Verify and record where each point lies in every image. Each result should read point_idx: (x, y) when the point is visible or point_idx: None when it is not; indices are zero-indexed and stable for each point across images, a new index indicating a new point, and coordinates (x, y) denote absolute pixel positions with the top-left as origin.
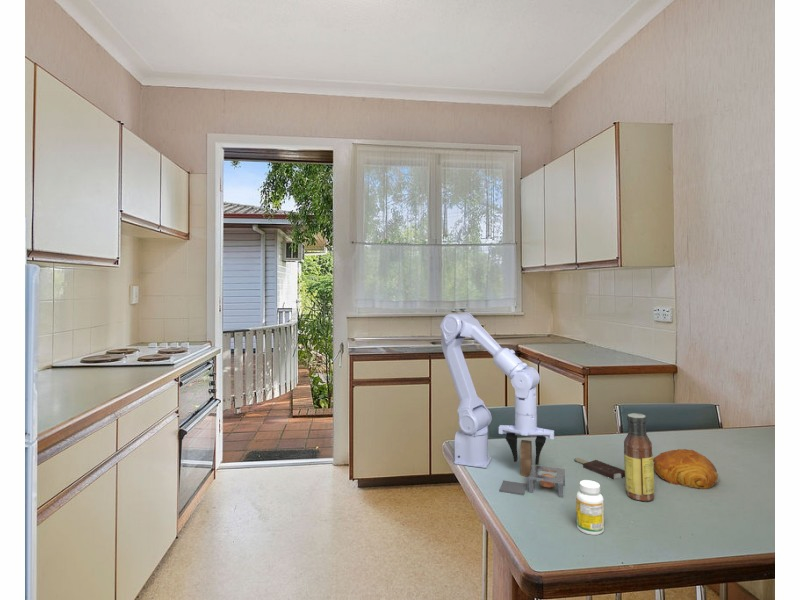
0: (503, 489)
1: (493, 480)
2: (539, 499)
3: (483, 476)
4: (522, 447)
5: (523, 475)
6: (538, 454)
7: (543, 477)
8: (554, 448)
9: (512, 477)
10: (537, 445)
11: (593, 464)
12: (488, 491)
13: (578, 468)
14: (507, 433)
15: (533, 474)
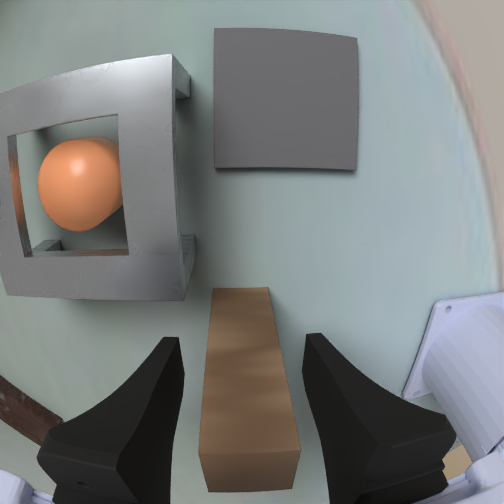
0: (336, 46)
1: (402, 174)
2: (129, 23)
3: (446, 209)
4: (275, 416)
5: (253, 290)
6: (136, 378)
7: (69, 90)
8: (190, 500)
9: (310, 248)
10: (113, 429)
11: (32, 423)
12: (401, 34)
13: (69, 411)
14: (439, 486)
15: (141, 109)
